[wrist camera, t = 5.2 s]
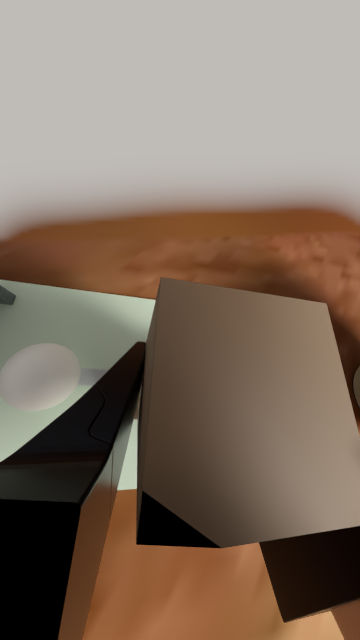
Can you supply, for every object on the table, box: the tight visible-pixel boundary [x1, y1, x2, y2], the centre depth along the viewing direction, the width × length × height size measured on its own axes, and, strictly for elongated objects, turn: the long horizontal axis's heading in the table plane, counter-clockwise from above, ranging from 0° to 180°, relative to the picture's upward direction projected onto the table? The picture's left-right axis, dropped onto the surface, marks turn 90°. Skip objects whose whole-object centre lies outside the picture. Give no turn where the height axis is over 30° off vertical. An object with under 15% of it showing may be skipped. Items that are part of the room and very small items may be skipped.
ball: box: [0, 343, 81, 411], centre depth 11 cm, size 4×4×4 cm
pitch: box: [0, 280, 156, 490], centre depth 14 cm, size 21×14×1 cm, turn 87°
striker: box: [134, 277, 360, 548], centre depth 8 cm, size 4×4×12 cm
